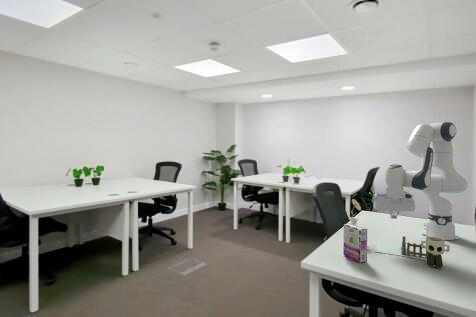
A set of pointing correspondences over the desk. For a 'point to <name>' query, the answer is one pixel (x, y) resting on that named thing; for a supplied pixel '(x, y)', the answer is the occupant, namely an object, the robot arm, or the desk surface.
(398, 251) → the card
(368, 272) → the desk surface
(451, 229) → the robot arm
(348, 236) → the candy bar box
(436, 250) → the character mug
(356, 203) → the flower in vase
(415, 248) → the fence panel with post
